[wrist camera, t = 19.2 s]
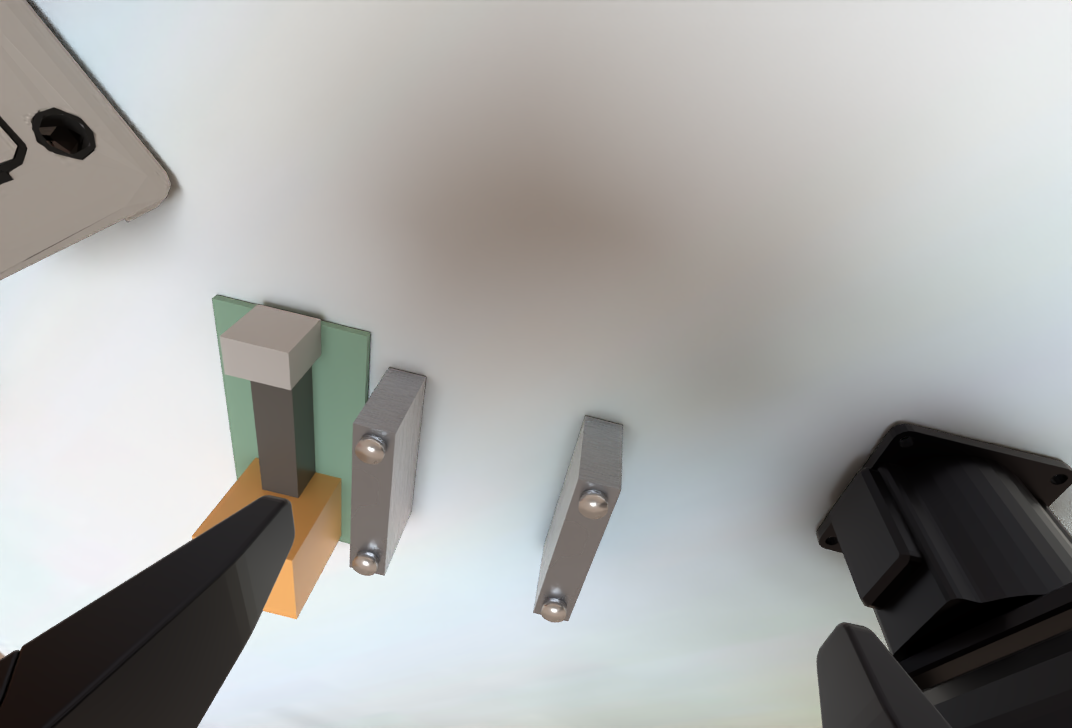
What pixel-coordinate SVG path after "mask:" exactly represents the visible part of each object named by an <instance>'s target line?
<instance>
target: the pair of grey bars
mask: <svg viewBox="0 0 1072 728" xmlns="http://www.w3.org/2000/svg"><path fill="white" fill-rule="evenodd" d="M425 383H426V376H422V375H418V374H414V373H409V372H405V371H401V370H397V369H393V368H388V370H387V371H386V373H385V374H384V376H383V377H382V379H381V381H380V382H379V384H378V385H377V387H376V388H375V390H374V391H373V393H372V394H371V396H370V398H369V399H368V401H367V402H366V404H365V405H364V407H363V408H362V410H361V411H360V413H359V415H358V416H357V418H356V419H355V421H354V422H353V437H352V483H351V530H350V567H352V568H353V569H354V570H355V571H356V572H358V573H359V574H362V575H366V576H370V575H373V574H374V573H376V574H380V575H384V576H385V573H386V571H387V568H388V566H389V564H390V561H391V559H392V557H393V554H394V552H395V550H396V547H397V545H398V543H399V540H400V538H401V535H402V533H403V531H404V528H405V526H406V524H407V521H408V519H409V517H410V514H411V510H412V501H413V492H414V483H415V474H416V465H417V456H418V446H419V437H420V428H421V419H422V410H423V401H424V392H425ZM622 429H623V425H621V424H617V423H613V422H609V421H604V420H600V419H596V418H592V417H588V416H585V418H584V421H583V424H582V427H581V431H580V434H579V437H578V440H577V443H576V446H575V449H574V452H573V456H572V459H571V462H570V465H569V468H568V471H567V474H566V478H565V481H564V484H563V487H562V490H561V493H560V496H559V500H558V503H557V506H556V509H555V512H554V515H553V518H552V521H551V525H550V528H549V531H548V534H547V537H546V540H545V543H544V548H543V554H542V560H541V567H540V573H539V579H538V585H537V592H536V598H535V604H534V611H533V613H537V614H541V615H542V617H543V618H544V619H546V620H548V621H550V622H561V621H563V620H565V621H568V620H569V618H570V615H571V613H572V610H573V608H574V606H575V603H576V601H577V598H578V596H579V593H580V591H581V588H582V586H583V583H584V581H585V578H586V576H587V573H588V571H589V568H590V566H591V563H592V561H593V558H594V556H595V553H596V551H597V548H598V546H599V543H600V541H601V539H602V536H603V534H604V531H605V529H606V526H607V524H608V521H609V519H610V516H611V514H612V511H613V509H614V506H615V504H616V501H617V499H618V496H619V494H620V491H621V476H622Z"/></svg>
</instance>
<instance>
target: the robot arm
mask: <svg viewBox="0 0 1072 728" xmlns="http://www.w3.org/2000/svg"><path fill="white" fill-rule="evenodd" d="M907 436H909V437H908V438H907V439H905V440H901V439H902V438H903V437H907ZM1055 475H1056V476H1055ZM1071 484H1072V469H1071V468H1070V467H1069V466H1068V465H1067V464H1066V463H1064V462H1062V461H1058V460H1054V459H1050V458H1046V457H1042V456H1037V455H1033V454H1029V453H1025V452H1021V451H1017V450H1013V449H1009V448H1005V447H1001V446H997V445H993V444H989V443H984V442H980V441H976V440H972V439H968V438H964V437H960V436H956V435H952V434H948V433H944V432H940V431H935V430H931V429H927V428H923V427H919V426H915V425H911V424H901V425H897V426H895V427H893V428H892V429H891V430H890V431H889V432H888V433H887V435H886V436H885V437H884V439H883V440H882V442H881V443H880V444H879V446H878V447H877V448H876V450H875V451H874V453H873V454H872V455H871V457H870V458H869V460H868V461H867V462H866V464H865V465H864V466H863V468H862V469H861V470H860V471H859V472H858V473H857V475H856V476H855V477H854V479H853V480H852V482H851V483H850V484H849V486H848V487H847V488H846V490H845V491H844V493H843V494H842V495H841V497H840V498H839V500H838V501H837V502H836V504H835V505H834V506H833V508H832V509H831V511H830V512H829V515H828V516H827V518H826V519H825V520H824V522H823V523H822V525H821V526H820V527H819V529H818V530H817V533H816V536H817V539H818V542H819V545H820V546H821V547H823V548H825V549H829V550H833V551H837V552H841V553H843V554H844V557H845V560H846V562H847V565H848V568H849V570H850V573H851V575H852V578H853V581H854V583H855V586H856V589H857V591H858V594H859V597H860V599H861V601H862V602H863V604H864V605H865V606H867V607H871V608H873V609H874V612H875V614H876V617H877V620H878V622H879V625H880V627H881V630H882V632H883V635H884V637H885V640H886V643H887V645H888V648H889V650H890V652H889V651H888V649H887V648H886V647H885V646H884V644H883V643H882V642H881V641H880V640H879V638H878V637H877V636H876V635H875V634H874V633H873V632H872V631H871V630H870V629H868V628H867V627H864V626H860V625H855V624H851V623H846V622H843V623H840V624H838V625H837V626H836V628H835V629H834V630H833V632H832V633H831V634H830V636H829V637H828V638H827V639H826V641H825V642H824V643H823V645H822V646H821V647H820V649H819V652H818V655H817V674H818V684H819V695H820V705H821V716H822V727H823V728H1072V536H1071V534H1070V533H1069V532H1068V531H1067V529H1066V528H1065V527H1064V526H1063V524H1062V523H1061V522H1060V521H1059V520H1058V518H1057V517H1056V516H1055V515H1054V513H1053V512H1052V511H1051V510H1050V508H1049V506H1050V505H1051V504H1052V503H1053V502H1054V501H1055V500H1056V499H1057V498H1058V497H1059V496H1060V495H1061V494H1062V493H1063V492H1064V491H1065V490H1066V489H1067V488H1068V487H1069V486H1070V485H1071ZM829 537H830V538H829ZM294 538H295V527H294V519H293V512H292V505H291V502H290V501H289V500H288V499H285V498H281V497H276V496H272V495H265V496H262V497H260V498H258V499H256V500H255V501H253V502H252V503H250V504H248V505H247V506H245V507H244V508H242V509H240V510H239V511H237V512H236V513H234V514H232V515H231V516H229V517H228V518H226V519H224V520H223V521H221V522H220V523H218V524H216V525H215V526H213V527H212V528H210V529H208V530H207V531H205V532H204V533H202V534H200V535H199V536H197V537H196V538H194V539H192V540H191V541H189V542H188V543H186V544H185V545H183V546H181V547H180V548H178V549H177V550H175V551H173V552H172V553H170V554H169V555H167V556H165V557H164V558H162V559H161V560H159V561H157V562H156V563H154V564H153V565H151V566H149V567H148V568H146V569H145V570H143V571H141V572H140V573H138V574H137V575H135V576H133V577H132V578H130V579H129V580H127V581H125V582H124V583H122V584H121V585H119V586H117V587H116V588H114V589H113V590H111V591H109V592H108V593H106V594H105V595H103V596H101V597H100V598H98V599H97V600H95V601H93V602H92V603H90V604H89V605H87V606H85V607H84V608H82V609H81V610H79V611H77V612H76V613H74V614H73V615H71V616H69V617H68V618H66V619H65V620H63V621H62V622H60V623H58V624H57V625H55V626H54V627H52V628H50V629H49V630H47V631H46V632H44V633H42V634H41V635H39V636H38V637H36V638H34V639H33V640H31V641H30V642H28V643H26V644H25V645H23V646H22V648H21V650H20V651H19V650H15V651H13V652H12V653H10V654H8V655H7V656H5V657H4V658H2V659H0V728H197V727H198V725H199V723H200V722H201V720H202V718H203V717H204V715H205V713H206V711H207V710H208V708H209V706H210V705H211V703H212V701H213V700H214V698H215V696H216V694H217V693H218V691H219V689H220V688H221V686H222V684H223V683H224V681H225V679H226V677H227V676H228V674H229V672H230V671H231V669H232V667H233V665H234V664H235V662H236V660H237V659H238V657H239V655H240V654H241V652H242V650H243V648H244V647H245V645H246V643H247V641H248V639H249V638H250V636H251V634H252V632H253V630H254V628H255V626H256V624H257V622H258V620H259V617H260V615H261V613H262V611H263V609H264V606H265V604H266V602H267V600H268V598H269V596H270V593H271V591H272V589H273V587H274V585H275V582H276V580H277V578H278V576H279V574H280V571H281V569H282V567H283V565H284V563H285V560H286V558H287V556H288V554H289V552H290V549H291V547H292V545H293V542H294Z"/></svg>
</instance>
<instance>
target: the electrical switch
mask: <svg viewBox="0 0 1072 728" xmlns="http://www.w3.org/2000/svg"><path fill="white" fill-rule="evenodd" d="M49 141H52V143H53V145H54V146H55V147H53V146H52V144H51V143H50V142H49ZM170 187H171V183H170V181H169V178H168V175H167V172H166V171H165V170H164V169H163V167H162V166H161V165H160V164H159V162H158V161H157V160H156V159H155V158H154V156H153V155H152V154H151V153H150V151H149V150H148V149H147V148H146V147H145V145H144V144H143V143H142V142H141V140H140V139H139V138H138V137H137V136H136V134H135V133H134V132H133V131H132V129H131V128H130V127H129V126H128V125H127V123H126V122H125V121H124V120H123V118H122V117H121V116H120V115H119V114H118V112H117V111H116V110H115V109H114V107H113V106H112V105H111V104H110V103H109V101H108V100H107V99H106V98H105V96H104V95H103V94H102V93H101V92H100V90H99V89H98V88H97V87H96V85H95V84H94V83H93V82H92V81H91V79H90V78H89V77H88V76H87V74H86V73H85V72H84V71H83V70H82V68H81V67H80V66H79V65H78V63H77V62H76V61H75V60H74V59H73V57H72V56H71V55H70V54H69V52H68V51H67V50H66V49H65V48H64V46H63V45H62V44H61V43H60V41H59V40H58V39H57V38H56V37H55V35H54V34H53V33H52V32H51V30H50V29H49V28H48V27H47V26H46V24H45V23H44V22H43V21H42V19H41V18H40V17H39V16H38V15H37V13H36V12H35V11H34V10H33V8H32V7H31V6H30V5H29V4H28V2H27V1H26V0H0V280H2V279H4V278H6V277H8V276H10V275H12V274H14V273H16V272H18V271H20V270H22V269H24V268H26V267H28V266H30V265H32V264H34V263H36V262H38V261H40V260H42V259H44V258H46V257H48V256H50V255H52V254H54V253H56V252H58V251H60V250H62V249H64V248H66V247H68V246H70V245H72V244H74V243H76V242H78V241H80V240H83V239H85V238H87V237H89V236H91V235H93V234H95V233H97V232H99V231H101V230H103V229H105V228H107V227H109V226H111V225H113V224H115V223H117V222H119V221H121V220H124V219H125V220H126V221H127V222H129V221H131V220H133V219H135V218H137V217H139V216H141V215H143V214H145V213H147V212H149V211H150V210H152V209H154V208H156V207H158V206H159V204H160V203H161V202H162V201H163V200H164V199H165V198H166V197H167V195H168V192H169V190H170Z"/></svg>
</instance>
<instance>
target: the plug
mask: <svg viewBox="0 0 1072 728" xmlns="http://www.w3.org/2000/svg"><path fill="white" fill-rule="evenodd" d="M219 337H220V344H221V351H222V358H223V365H224V372H225V374H226V375H230V376H234V377H238V378H242V379H246V380H250V384H251V393H252V402H253V411H254V420H255V429H256V438H257V447H258V456H259V458H255V459H254V460H253V461H252V463H251V464H250V465H249V466H248V468H247V469H246V470H245V471H244V472H243V474H242V475H241V476H240V477H239V479H238V480H237V481H236V482H235V484H234V485H233V486H232V487H231V489H230V490H229V491H228V492H227V493H226V495H225V496H224V497H223V498H222V500H221V501H220V502H219V503H218V505H217V506H216V507H215V508H214V510H213V511H212V512H211V513H210V514H209V516H208V517H207V518H206V519H205V521H204V522H203V523H202V524H201V526H200V527H199V528H198V529H197V531H196V532H195V533H194V534H193V535H192V539H194V538H196V537H197V536H199V535H200V534H202V533H204V532H205V531H207V530H208V529H210V528H212V527H213V526H215V525H216V524H218V523H220V522H221V521H223V520H224V519H226V518H228V517H229V516H231V515H232V514H234V513H236V512H237V511H239V510H240V509H242V508H244V507H245V506H247V505H248V504H250V503H252V502H253V501H255V500H256V499H258V498H260V497H262V496H265V495H272V496H276V497H281V498H285V499H288V500H289V501H290V502H291V505H292V512H293V519H294V527H295V538H294V542H293V545H292V547H291V549H290V552H289V554H288V556H287V558H286V560H285V563H284V565H283V567H282V569H281V571H280V574H279V576H278V578H277V580H276V582H275V585H274V587H273V589H272V591H271V593H270V596H269V598H268V600H267V602H266V604H265V606H264V609H263V611H266V612H270V613H274V614H278V615H282V616H286V617H290V618H294V619H297V618H298V616H299V614H300V612H301V610H302V608H303V606H304V604H305V603H306V601H307V599H308V597H309V595H310V593H311V591H312V590H313V588H314V586H315V584H316V582H317V580H318V578H319V576H320V575H321V573H322V571H323V569H324V567H325V565H326V563H327V561H328V560H329V558H330V556H331V554H332V552H333V550H334V548H335V547H336V545H337V543H338V541H339V539H340V537H341V478H337V477H333V476H329V475H325V474H321V473H317V472H316V470H315V441H314V413H313V384H312V365H313V364H314V363H315V361H316V360H317V359H318V358H319V357H320V356H321V319H318V318H313V317H309V316H305V315H301V314H297V313H293V312H289V311H284V310H280V309H276V308H272V307H268V306H264V305H260V304H258V305H256V306H255V307H254V308H253V309H252V310H250V311H249V312H248V313H247V314H246V315H244V316H243V317H242V318H241V319H240V320H238V321H237V322H236V323H235V324H234V325H232V326H231V327H230V328H229V329H228V330H226V331H225V332H224V333H223V334H222V335H220V336H219Z"/></svg>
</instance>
